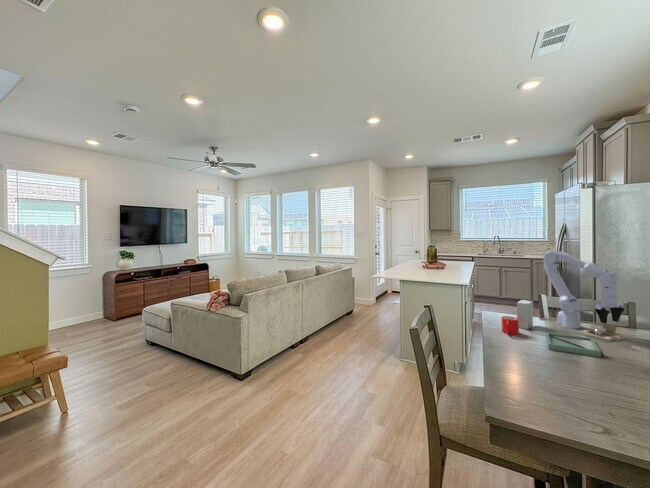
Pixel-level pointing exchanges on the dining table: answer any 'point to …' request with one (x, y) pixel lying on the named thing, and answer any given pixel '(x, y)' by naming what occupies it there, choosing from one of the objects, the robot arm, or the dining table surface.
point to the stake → (598, 330)
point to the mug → (510, 325)
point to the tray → (571, 345)
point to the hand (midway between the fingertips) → (609, 322)
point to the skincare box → (525, 313)
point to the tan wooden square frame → (609, 331)
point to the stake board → (603, 336)
